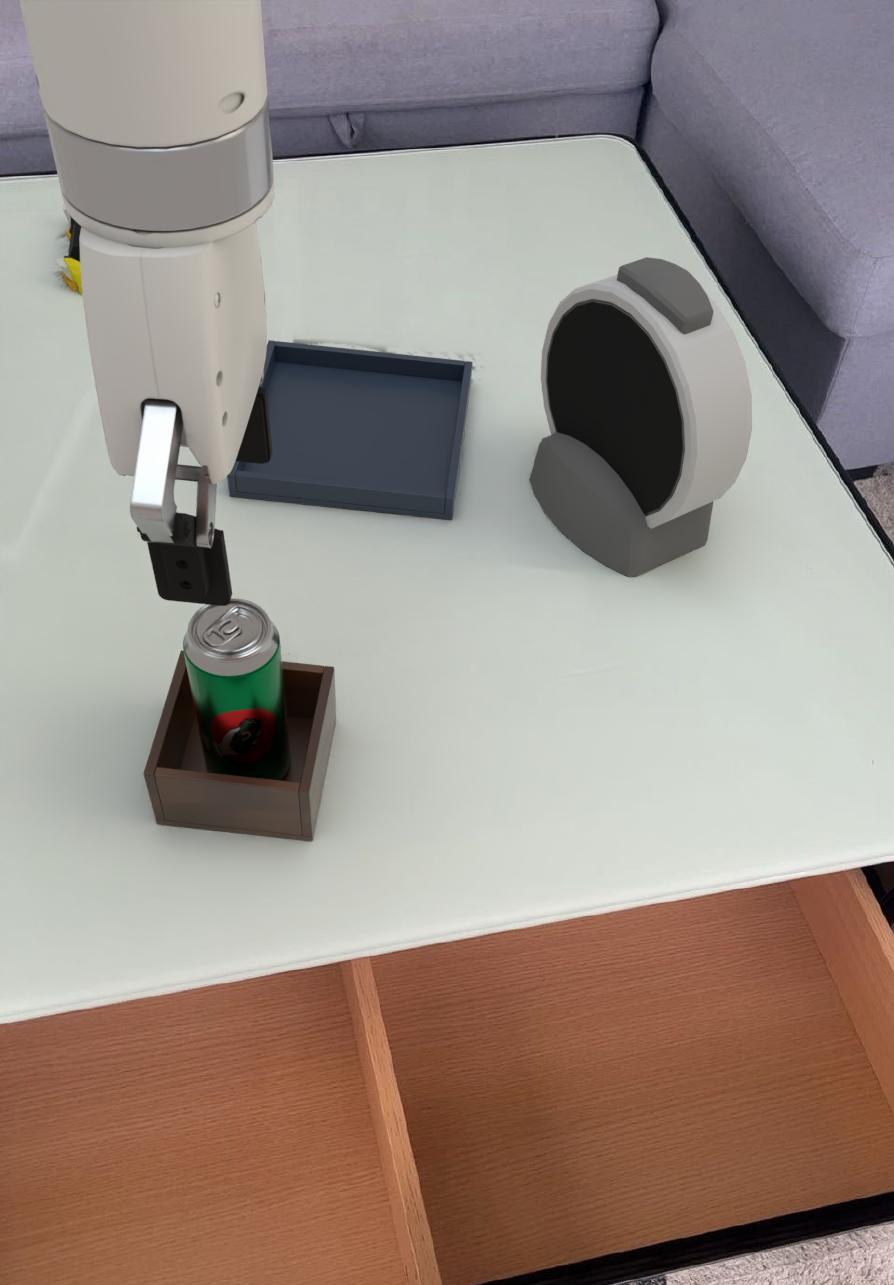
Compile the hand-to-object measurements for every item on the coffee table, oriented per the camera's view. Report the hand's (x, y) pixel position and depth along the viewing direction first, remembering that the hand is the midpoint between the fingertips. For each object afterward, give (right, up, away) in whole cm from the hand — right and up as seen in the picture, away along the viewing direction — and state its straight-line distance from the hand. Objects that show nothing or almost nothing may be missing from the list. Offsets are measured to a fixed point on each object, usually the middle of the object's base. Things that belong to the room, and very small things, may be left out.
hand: (219, 524), depth 55 cm
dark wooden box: (-1, -11, +16) cm, 20 cm away
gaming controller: (-16, +31, +45) cm, 58 cm away
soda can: (-1, -11, +16) cm, 19 cm away
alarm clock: (+23, +8, +32) cm, 40 cm away
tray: (+4, +15, +35) cm, 38 cm away
